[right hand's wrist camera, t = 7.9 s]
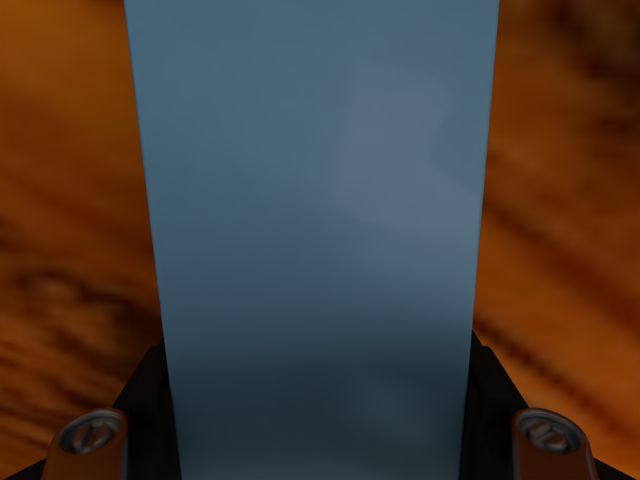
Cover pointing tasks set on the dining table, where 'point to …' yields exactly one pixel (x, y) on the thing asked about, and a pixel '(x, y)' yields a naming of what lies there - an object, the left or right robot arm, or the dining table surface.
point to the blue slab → (315, 228)
